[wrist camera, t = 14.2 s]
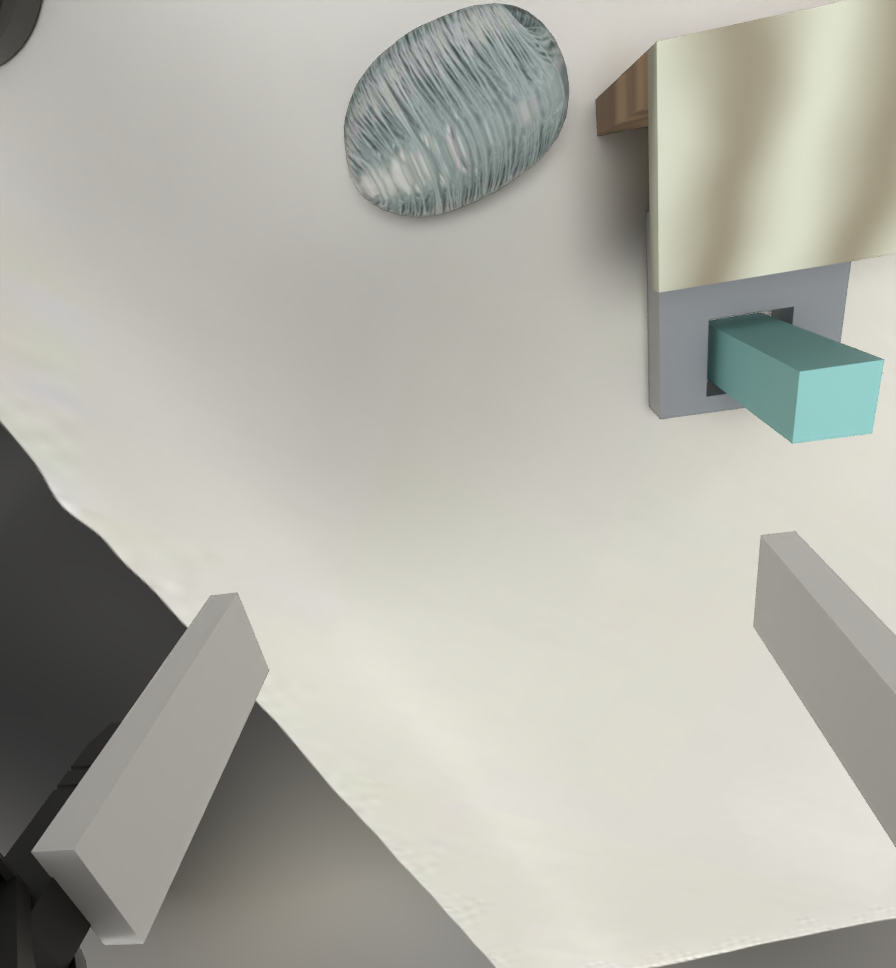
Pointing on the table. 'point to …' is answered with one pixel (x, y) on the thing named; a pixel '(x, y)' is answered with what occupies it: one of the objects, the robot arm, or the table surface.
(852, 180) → the wood grain block
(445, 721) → the table surface
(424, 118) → the grey yarn spool
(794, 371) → the peg
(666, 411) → the socket
